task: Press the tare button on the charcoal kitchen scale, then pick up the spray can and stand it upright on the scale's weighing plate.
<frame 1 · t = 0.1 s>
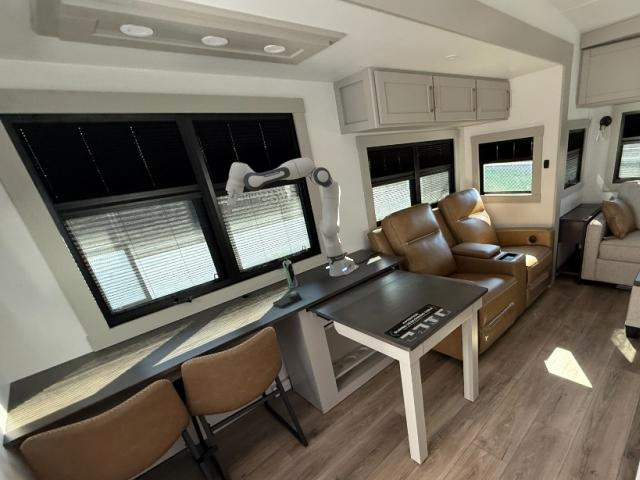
hand: (229, 212, 187), 54 cm above the table, tool tilted 30°, fingers open, 8 cm apart
tare button: (293, 293, 187), point 4 cm above the table, slide at 0.1 cm
scale: (287, 302, 188), on the table
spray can: (293, 286, 213), on the table
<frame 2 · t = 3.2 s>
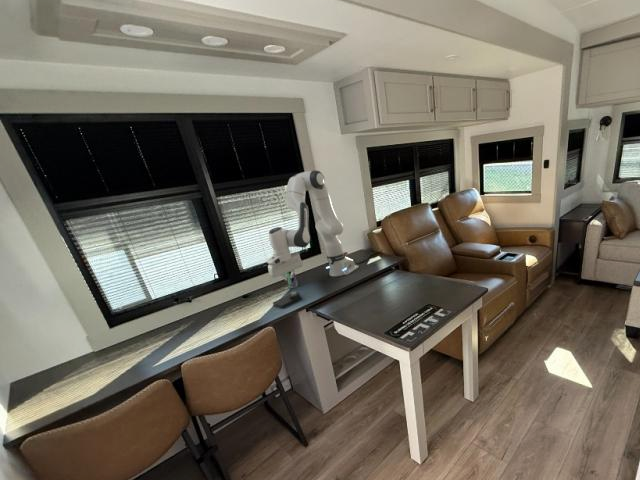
hand: (289, 278, 184), 14 cm above the table, tool pointing down, fingers closed
nothing on the table moved.
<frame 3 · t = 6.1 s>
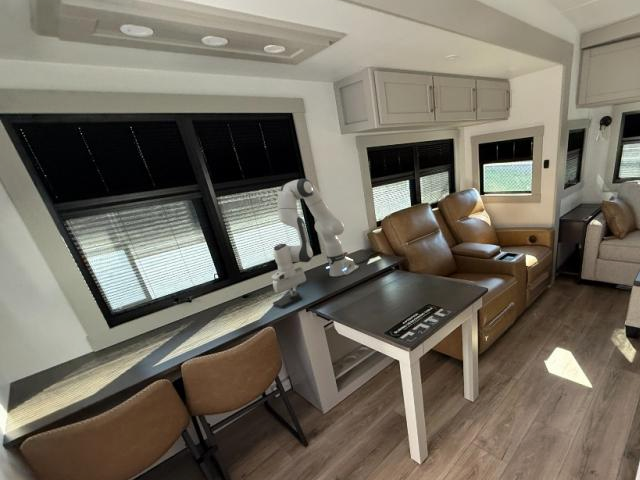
hand: (293, 293, 187), 5 cm above the table, tool pointing down, fingers closed, pressing on tare button
tare button: (294, 295, 188), point 4 cm above the table, slide at -0.7 cm, touching gripper
everything else where it was.
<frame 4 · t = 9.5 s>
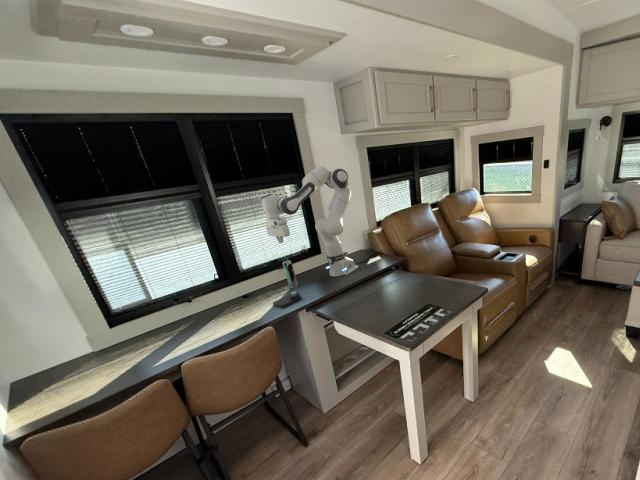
hand: (281, 242, 201), 31 cm above the table, tool pointing down, fingers closed
tare button: (293, 293, 187), point 4 cm above the table, slide at 0.1 cm
everything else where it was.
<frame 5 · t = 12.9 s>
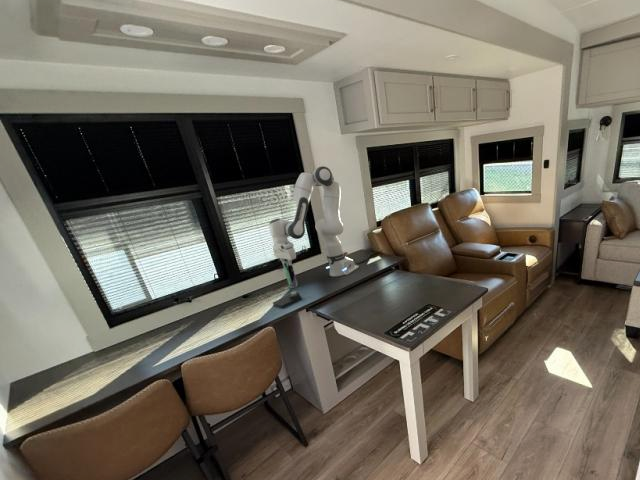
hand: (287, 264, 207), 16 cm above the table, tool pointing down, fingers closed on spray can, 5 cm apart
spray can: (293, 286, 213), on the table, touching gripper
everything else where it was.
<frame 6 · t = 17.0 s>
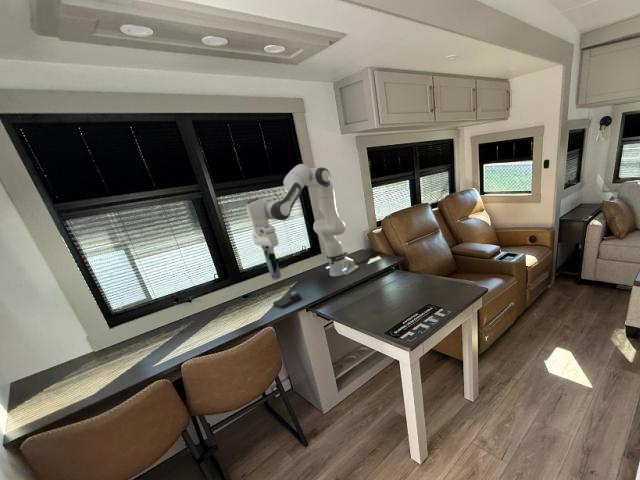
hand: (269, 252, 178), 31 cm above the table, tool pointing down, fingers closed on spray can, 5 cm apart
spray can: (276, 278, 184), point 15 cm above the table, touching gripper
everything else where it was.
when the fingers open (18 cm above the table, at t = 21.4 s): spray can stays where it is, resting on scale.
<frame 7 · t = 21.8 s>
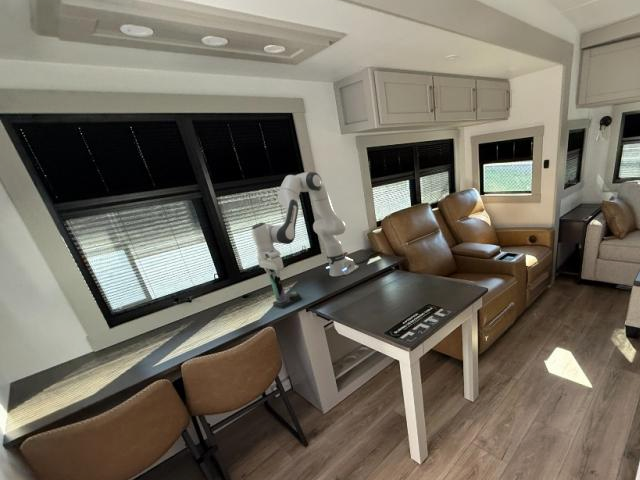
hand: (274, 275, 180), 18 cm above the table, tool pointing down, fingers open, 8 cm apart
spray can: (281, 300, 186), point 2 cm above the table, touching scale
everything else where it was.
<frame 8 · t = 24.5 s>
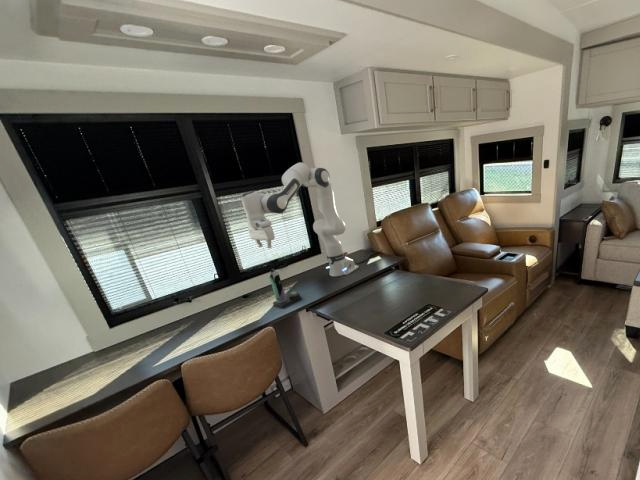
hand: (265, 247, 174), 35 cm above the table, tool pointing down, fingers open, 8 cm apart
nothing on the table moved.
at the end: tare button pushed in 0.8 cm at the most during the clip, back to where it started at the end; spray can inside the target area on the scale (2.8 cm from its centre), point 2.0 cm above the scale's base; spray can tilted 0° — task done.
